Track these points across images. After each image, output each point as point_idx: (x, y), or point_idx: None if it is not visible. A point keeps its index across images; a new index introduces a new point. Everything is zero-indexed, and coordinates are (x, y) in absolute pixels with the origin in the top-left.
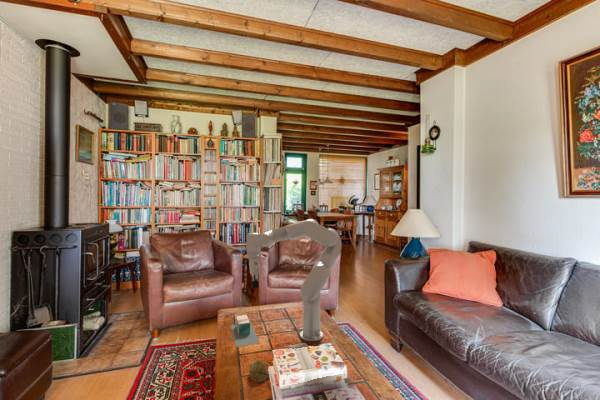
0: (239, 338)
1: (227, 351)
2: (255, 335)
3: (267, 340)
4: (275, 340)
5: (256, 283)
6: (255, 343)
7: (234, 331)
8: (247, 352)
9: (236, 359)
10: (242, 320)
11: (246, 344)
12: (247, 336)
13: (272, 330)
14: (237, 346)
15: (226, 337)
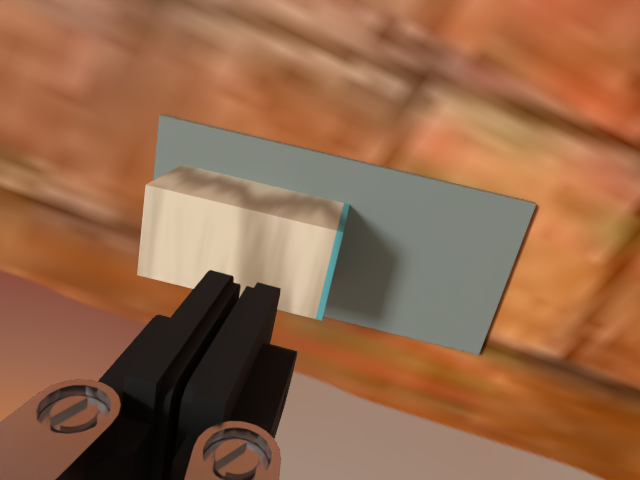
0: (377, 295)
1: (481, 403)
2: (402, 182)
3: (522, 128)
4: (568, 70)
5: (276, 416)
6: (520, 235)
7: None
8: (580, 318)
9: (607, 397)
10: (260, 268)
11: (491, 291)
12: (381, 239)
13: (386, 4)
14: (476, 346)
15: (300, 348)
